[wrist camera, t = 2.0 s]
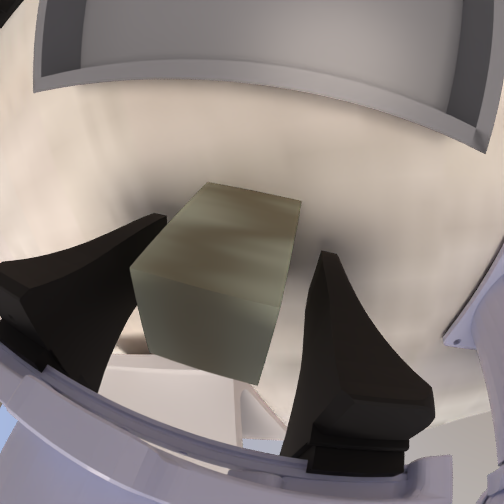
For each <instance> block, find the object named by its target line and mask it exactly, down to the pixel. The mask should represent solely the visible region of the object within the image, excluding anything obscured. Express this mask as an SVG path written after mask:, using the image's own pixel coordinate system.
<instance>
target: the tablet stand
mask: <svg viewBox="0 0 504 504" xmlns="http://www.w3.org/2000/svg"><path fill="white" fill-rule="evenodd" d="M98 394H100V395H102V396H103V397H105V398H107V399H109V400H111V401H114V402H116V403H118V404H120V405H122V406H124V407H126V408H128V409H131V410H133V411H135V412H137V413H140V414H142V415H144V416H147V417H149V418H152V419H154V420H157V421H159V422H162V423H164V424H167V425H170V426H172V427H175V428H178V429H181V430H184V431H187V432H190V433H193V434H196V435H199V436H202V437H205V438H208V439H212V440H215V441H219V442H222V443H226V444H230V445H234V446H237V447H241V448H243V443H242V438H246V439H262V440H284V438H285V435H286V431H287V427H286V426H285V424H284V423H283V422H282V421H281V420H280V419H279V418H278V417H277V415H276V414H275V413H274V412H273V411H272V410H271V409H270V407H269V406H268V405H267V404H266V403H265V402H264V400H263V399H262V398H261V397H260V396H259V394H258V393H257V392H256V391H255V390H254V389H253V387H252V386H251V385H250V384H249V383H245V382H241V381H238V380H234V379H230V378H226V377H223V376H219V375H216V374H213V373H209V372H206V371H203V370H199V369H196V368H193V367H190V366H187V365H184V364H181V363H178V362H175V361H172V360H169V359H166V358H163V357H161V356H158V355H143V354H111V357H110V359H109V362H108V364H107V367H106V370H105V372H104V375H103V378H102V382H101V385H100V388H99V391H98ZM140 439H141V438H140ZM141 440H143V439H141ZM143 441H145V440H143ZM145 442H146V443H148V444H149V445H151V446H154V447H156V448H158V449H160V450H163V451H165V452H167V453H170V454H172V455H174V456H177V457H179V458H182V459H184V460H187V461H189V462H192V463H194V464H197V465H200V466H202V467H205V468H208V469H211V470H214V471H217V472H220V473H223V474H226V475H227V473H228V471H229V470H231V469H228V468H224V467H220V466H217V465H213V464H210V463H206V462H203V461H200V460H197V459H193V458H190V457H187V456H184V455H182V454H179V453H176V452H173V451H170V450H168V449H165V448H163V447H160V446H157V445H155V444H153V443H150V442H148V441H145Z"/></svg>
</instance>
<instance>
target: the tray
mask: <svg viewBox="0 0 504 504" xmlns="http://www.w3.org/2000/svg"><path fill="white" fill-rule="evenodd" d="M139 79H198V80H216V81H229V82H239V83H249V84H257V85H265V86H272V87H278V88H284V89H290V90H296V91H301V92H306V93H311V94H316V95H321V96H325V97H330V98H334V99H338V100H342V101H346V102H350V103H354V104H357V105H361V106H365V107H368V108H371V109H375V110H378V111H381V112H384V113H388V114H391V115H394V116H397V117H400V118H402V119H405V120H408V121H411V122H414V123H416V124H419V125H421V126H424V127H427V128H429V129H432V130H434V131H437V132H439V133H441V134H444V135H446V136H448V137H451V138H453V139H455V140H457V141H459V142H462V143H464V144H466V145H468V146H470V147H472V148H474V149H476V150H478V151H480V152H482V153H484V154H486V151H487V147H488V144H489V141H490V137H491V134H492V130H493V126H494V122H495V118H496V114H497V110H498V105H499V101H500V96H501V91H502V85H503V79H504V0H40V1H39V7H38V14H37V22H36V31H35V43H34V62H33V93H36V92H41V91H46V90H51V89H56V88H62V87H68V86H75V85H82V84H90V83H99V82H109V81H121V80H139Z"/></svg>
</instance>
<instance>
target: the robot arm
mask: <svg viewBox="0 0 504 504" xmlns="http://www.w3.org/2000/svg"><path fill="white" fill-rule="evenodd" d="M166 225H167V216H165V215H160V214H156V213H153V214H150V215H147V216H145V217H143V218H140V219H138V220H136V221H134V222H131V223H129V224H127V225H125V226H123V227H121V228H118V229H116V230H114V231H112V232H110V233H107V234H105V235H103V236H100V237H98V238H96V239H94V240H91V241H89V242H86V243H83V244H81V245H78V246H75V247H72V248H69V249H66V250H62V251H58V252H55V253H51V254H48V255H43V256H39V257H34V258H28V259H22V260H14V261H5V262H2V263H0V316H1V318H2V319H1V320H0V402H1V403H2V404H3V405H4V406H5V407H6V408H7V411H8V412H9V413H10V414H11V415H12V416H14V417H15V418H16V419H17V420H18V422H17V424H16V426H15V427H14V429H13V431H12V433H11V434H10V436H9V438H8V440H7V442H6V444H5V446H4V447H3V449H2V451H1V453H0V504H452V492H453V491H452V490H453V467H452V455H442V456H429V457H423V458H420V459H417V460H414V461H413V462H411V463H410V464H408V465H404V451H407V450H408V449H409V439H410V438H411V437H413V436H415V435H416V434H418V433H419V432H421V431H422V430H424V429H425V428H426V427H428V426H429V425H430V424H431V423H432V421H433V420H434V418H435V406H434V397H433V391H432V387H431V386H430V385H429V384H428V383H427V382H425V381H424V380H423V379H422V378H421V377H420V376H419V375H418V374H417V373H415V372H414V371H413V370H412V369H411V368H410V367H409V366H408V365H407V364H406V363H405V362H404V361H403V360H402V359H401V358H400V356H399V355H398V354H397V353H396V352H395V351H394V350H393V349H392V347H391V346H390V345H389V344H388V342H387V341H386V340H385V339H384V337H383V336H382V335H381V334H380V332H379V331H378V330H377V328H376V327H375V325H374V324H373V322H372V321H371V319H370V318H369V316H368V315H367V313H366V312H365V310H364V308H363V307H362V305H361V303H360V301H359V300H358V298H357V296H356V294H355V292H354V290H353V288H352V286H351V284H350V282H349V280H348V278H347V276H346V273H345V271H344V269H343V267H342V264H341V262H340V260H339V257H338V256H337V254H334V253H330V252H326V251H321V254H320V257H319V260H318V263H317V266H316V270H315V273H314V276H313V279H312V282H311V285H310V288H309V292H308V298H307V304H306V309H305V322H304V338H303V353H302V363H301V370H300V375H299V380H298V385H297V390H296V394H295V399H294V403H293V407H292V412H291V416H290V420H289V423H288V427H287V431H286V435H285V438H284V442H283V445H282V449H281V452H280V455H274V454H269V453H264V452H259V451H254V450H250V449H246V448H241V447H237V446H234V445H230V444H226V443H222V442H219V441H215V440H212V439H208V438H205V437H202V436H199V435H196V434H193V433H190V432H187V431H184V430H181V429H178V428H175V427H172V426H170V425H167V424H164V423H162V422H159V421H157V420H154V419H152V418H149V417H147V416H144V415H142V414H140V413H137V412H135V411H133V410H131V409H128V408H126V407H124V406H122V405H120V404H118V403H116V402H114V401H111V400H109V399H107V398H105V397H103V396H102V395H100V394H98V391H99V388H100V385H101V382H102V378H103V375H104V372H105V370H106V367H107V364H108V362H109V359H110V357H111V354H112V352H113V349H114V347H115V345H116V343H117V341H118V338H119V336H120V334H121V332H122V330H123V328H124V326H125V324H126V322H127V320H128V318H129V317H130V315H131V314H132V312H133V310H134V309H135V307H136V306H137V301H136V297H135V292H134V287H133V283H132V277H131V272H130V266H131V265H132V264H133V263H134V262H135V260H136V259H137V258H138V257H139V256H140V255H141V253H142V252H143V251H144V250H145V249H146V248H147V247H148V245H149V244H150V243H151V242H152V241H153V240H154V239H155V237H156V236H157V235H158V234H159V233H160V232H161V231H162V230H163V229H164V227H165V226H166ZM443 343H444V345H446V346H452V347H459V348H467V349H475V350H477V353H478V356H479V360H480V363H481V367H482V371H483V375H484V379H485V383H486V387H487V392H488V396H489V401H490V406H491V412H492V417H493V424H494V430H495V438H496V447H497V457H498V466H500V468H499V469H497V470H496V471H494V472H492V473H490V474H488V475H487V481H488V482H487V487H488V488H487V489H486V490H485V491H484V493H483V494H482V495H481V496H480V498H479V499H478V501H477V502H476V504H504V244H503V246H502V248H501V250H500V251H499V253H498V255H497V257H496V259H495V260H494V262H493V264H492V266H491V267H490V269H489V271H488V272H487V274H486V276H485V277H484V279H483V281H482V282H481V284H480V285H479V287H478V289H477V290H476V292H475V293H474V295H473V296H472V298H471V299H470V301H469V302H468V304H467V305H466V306H465V308H464V309H463V311H462V312H461V313H460V315H459V316H458V318H457V319H456V320H455V322H454V323H453V324H452V326H451V327H450V328H449V330H448V331H447V332H446V333H445V335H444V336H443ZM140 438H141V439H143V440H145V441H148V442H150V443H153V444H155V445H157V446H160V447H163V448H165V449H168V450H170V451H173V452H176V453H179V454H182V455H184V456H187V457H190V458H193V459H197V460H200V461H203V462H206V463H210V464H213V465H217V466H220V467H224V468H228V469H231V470H229V471H228V473H227V475H226V474H223V473H220V472H217V471H214V470H211V469H208V468H205V467H202V466H200V465H197V464H194V463H192V462H189V461H187V460H184V459H182V458H179V457H177V456H174V455H172V454H170V453H167V452H165V451H163V450H160V449H158V448H156V447H154V446H151V445H149V444H148V443H146V442H145V441H143V440H141V439H140Z"/></svg>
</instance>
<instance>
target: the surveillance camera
mask: <svg viewBox="0 0 504 504" xmlns="http://www.w3.org/2000/svg"><path fill="white" fill-rule="evenodd" d="M23 1H24V0H0V28H2V27H3V25H4V24H5V23H6V21H7V20H8V19H9V17H10V16H11V15H12V14H13V12H14V11H15V10H16V9H17V8H18V6H19V5H20V4H21V3H22V2H23Z"/></svg>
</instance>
